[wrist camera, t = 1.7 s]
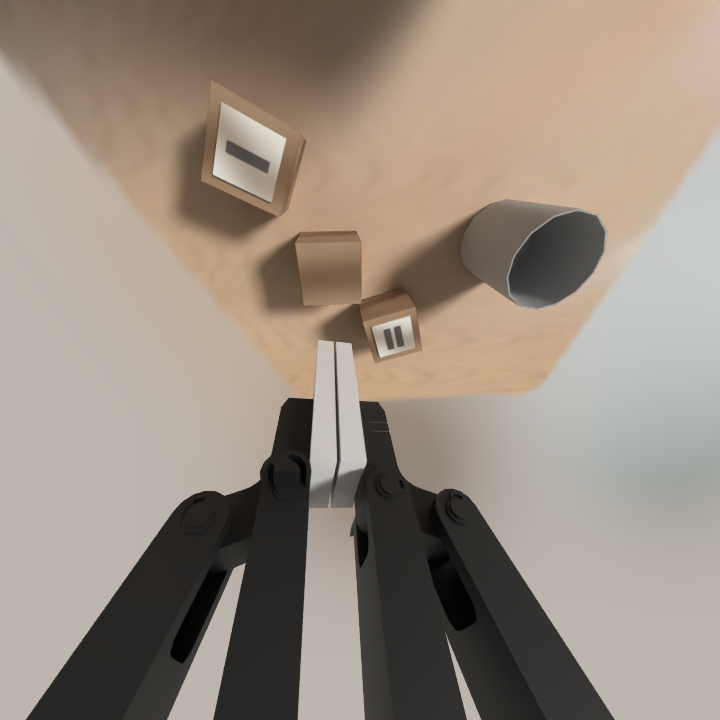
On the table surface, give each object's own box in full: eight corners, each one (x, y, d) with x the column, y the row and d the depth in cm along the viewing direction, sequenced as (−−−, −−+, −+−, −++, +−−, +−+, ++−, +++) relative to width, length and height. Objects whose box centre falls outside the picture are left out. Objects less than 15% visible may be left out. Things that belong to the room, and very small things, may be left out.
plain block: (300, 231, 28) (295, 243, 23) (355, 230, 28) (361, 241, 23) (307, 285, 31) (303, 305, 26) (356, 284, 32) (361, 303, 27)
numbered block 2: (357, 300, 33) (363, 323, 28) (402, 287, 33) (416, 307, 28) (368, 338, 37) (375, 364, 32) (409, 327, 36) (422, 351, 31)
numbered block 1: (237, 101, 22) (209, 78, 17) (306, 141, 24) (299, 131, 18) (226, 179, 25) (199, 180, 20) (287, 209, 27) (278, 217, 21)
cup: (460, 283, 33) (502, 318, 25) (459, 212, 28) (512, 227, 20) (525, 266, 33) (590, 295, 24) (536, 190, 28) (622, 196, 20)
